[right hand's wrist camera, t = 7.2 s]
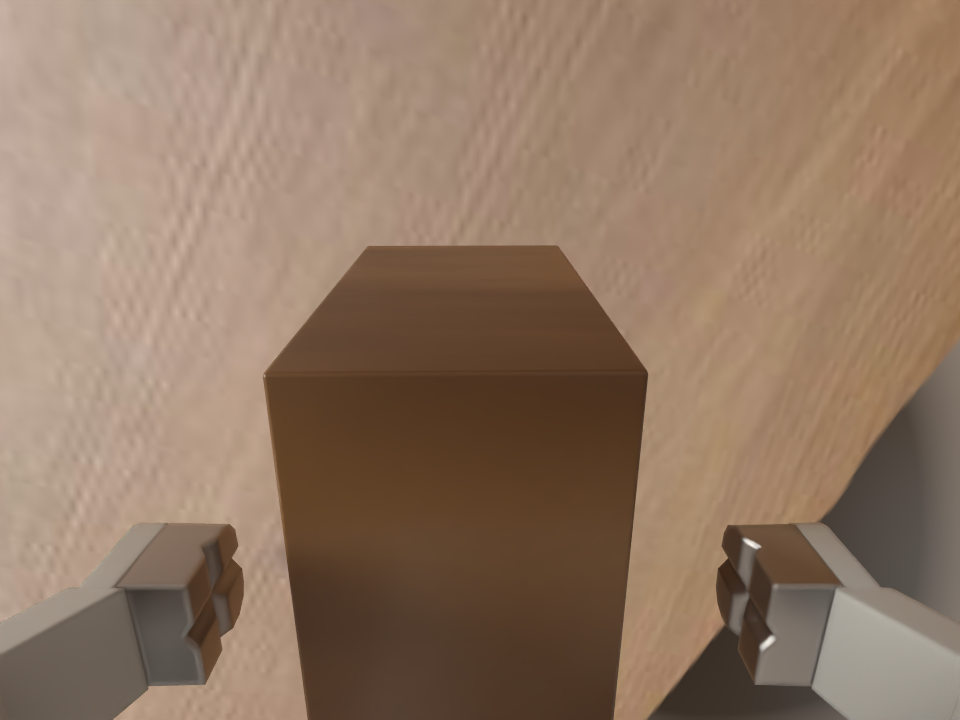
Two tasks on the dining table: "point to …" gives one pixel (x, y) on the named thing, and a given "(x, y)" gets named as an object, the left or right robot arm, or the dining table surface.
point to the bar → (458, 487)
